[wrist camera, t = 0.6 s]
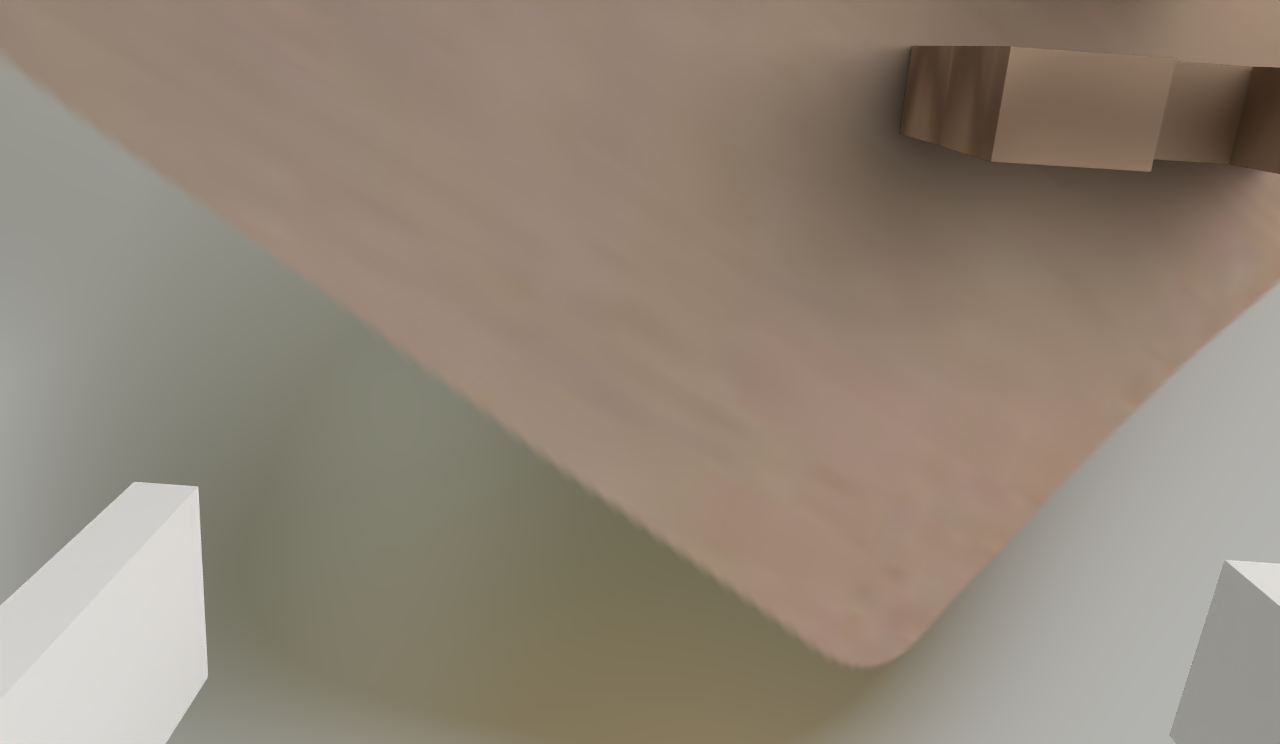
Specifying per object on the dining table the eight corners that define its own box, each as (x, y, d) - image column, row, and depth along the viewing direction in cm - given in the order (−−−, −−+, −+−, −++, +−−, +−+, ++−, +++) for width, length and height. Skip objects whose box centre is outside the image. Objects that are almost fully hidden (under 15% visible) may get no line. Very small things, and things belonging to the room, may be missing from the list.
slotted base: (911, 45, 35) (1010, 46, 26) (1297, 72, 35) (1516, 81, 27) (899, 133, 36) (990, 161, 27) (1274, 157, 36) (1479, 192, 28)
